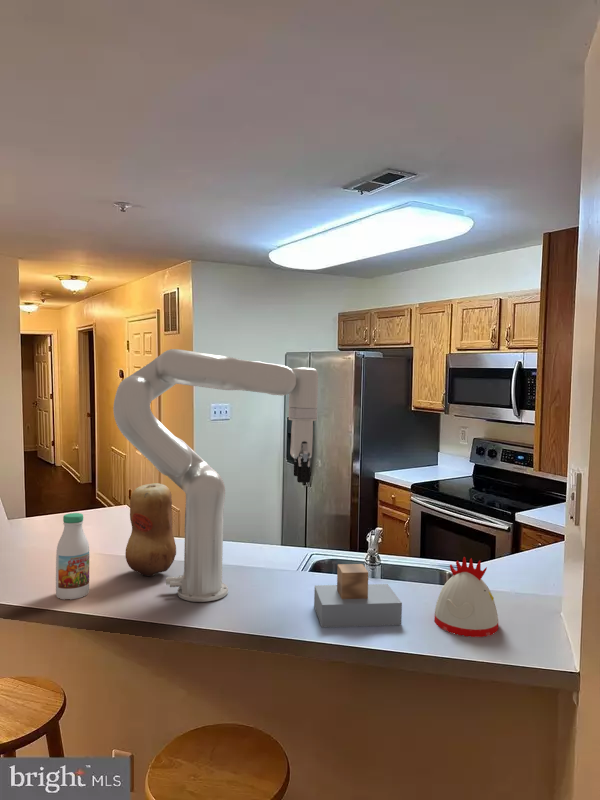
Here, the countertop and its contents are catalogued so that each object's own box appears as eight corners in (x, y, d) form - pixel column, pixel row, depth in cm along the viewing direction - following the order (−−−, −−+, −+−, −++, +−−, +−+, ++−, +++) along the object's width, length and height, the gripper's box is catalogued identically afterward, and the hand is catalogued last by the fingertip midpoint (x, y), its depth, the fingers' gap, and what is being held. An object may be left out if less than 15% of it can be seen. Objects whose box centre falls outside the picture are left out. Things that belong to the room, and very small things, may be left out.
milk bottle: (48, 597, 139) (49, 516, 138) (72, 587, 146) (72, 509, 145) (73, 602, 136) (73, 519, 135) (95, 591, 143) (96, 513, 142)
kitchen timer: (489, 643, 119) (491, 572, 118) (425, 627, 126) (427, 560, 126) (504, 620, 131) (506, 555, 130) (445, 607, 138) (447, 545, 138)
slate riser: (321, 627, 125) (322, 604, 125) (314, 606, 137) (314, 585, 136) (401, 625, 127) (401, 602, 127) (387, 604, 139) (387, 584, 138)
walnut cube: (341, 599, 128) (342, 572, 128) (337, 589, 134) (337, 564, 134) (367, 598, 129) (368, 572, 129) (361, 589, 135) (362, 563, 135)
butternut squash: (114, 579, 152) (116, 486, 151) (141, 564, 165) (142, 479, 164) (161, 585, 148) (162, 490, 148) (185, 569, 161) (186, 482, 161)
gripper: (286, 412, 158) (284, 473, 158) (291, 416, 141) (290, 484, 141) (312, 413, 159) (311, 474, 159) (321, 416, 142) (320, 485, 142)
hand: (301, 479), depth 150 cm, fingers open, 9 cm apart
